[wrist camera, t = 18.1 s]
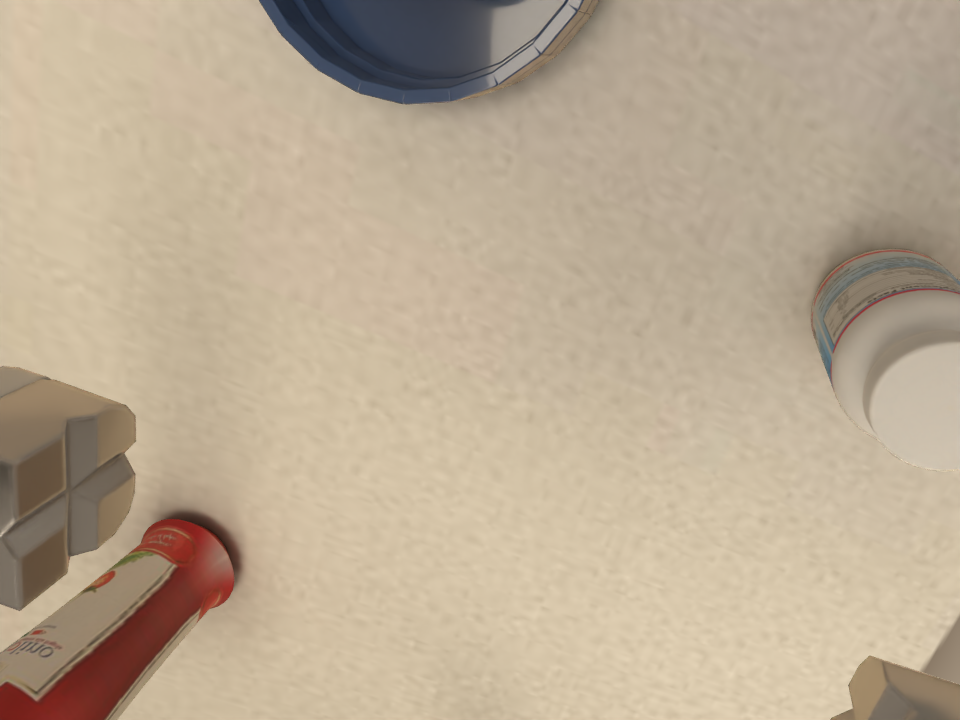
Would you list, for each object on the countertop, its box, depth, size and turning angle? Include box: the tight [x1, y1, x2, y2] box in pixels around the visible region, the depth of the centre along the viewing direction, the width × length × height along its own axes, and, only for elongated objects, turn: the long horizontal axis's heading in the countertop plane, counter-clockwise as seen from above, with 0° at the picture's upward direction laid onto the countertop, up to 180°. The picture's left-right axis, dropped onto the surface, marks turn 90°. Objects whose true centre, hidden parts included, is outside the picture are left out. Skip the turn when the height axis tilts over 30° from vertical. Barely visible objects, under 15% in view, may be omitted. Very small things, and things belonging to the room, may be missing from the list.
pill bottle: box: [811, 249, 960, 471], centre depth 31 cm, size 6×6×11 cm
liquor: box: [0, 519, 234, 720], centre depth 40 cm, size 7×7×28 cm
